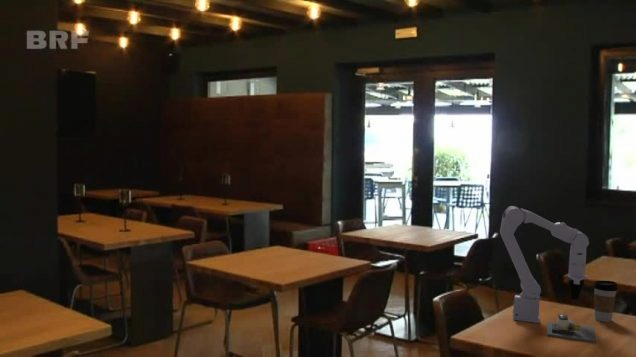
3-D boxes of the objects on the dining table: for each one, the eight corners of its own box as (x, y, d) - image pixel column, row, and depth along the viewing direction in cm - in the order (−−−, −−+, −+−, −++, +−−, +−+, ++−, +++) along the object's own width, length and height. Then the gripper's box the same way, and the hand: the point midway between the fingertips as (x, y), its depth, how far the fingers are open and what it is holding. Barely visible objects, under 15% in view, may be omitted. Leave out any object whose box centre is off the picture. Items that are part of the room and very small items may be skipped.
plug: (555, 331, 219) (556, 318, 218) (555, 328, 223) (556, 314, 223) (569, 334, 217) (570, 319, 217) (569, 330, 222) (570, 316, 221)
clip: (556, 320, 228) (556, 313, 228) (564, 320, 228) (564, 313, 228) (573, 330, 216) (573, 324, 216) (581, 330, 216) (582, 324, 216)
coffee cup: (617, 323, 234) (620, 285, 233) (594, 321, 236) (596, 283, 235) (611, 317, 242) (614, 280, 241) (588, 315, 244) (591, 278, 243)
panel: (547, 336, 216) (547, 330, 216) (547, 323, 231) (548, 318, 231) (596, 343, 211) (596, 337, 211) (594, 329, 226) (594, 324, 225)
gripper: (589, 268, 223) (587, 305, 224) (588, 261, 236) (585, 295, 237) (568, 266, 225) (566, 302, 226) (568, 259, 239) (566, 293, 240)
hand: (574, 299), depth 232 cm, fingers closed
